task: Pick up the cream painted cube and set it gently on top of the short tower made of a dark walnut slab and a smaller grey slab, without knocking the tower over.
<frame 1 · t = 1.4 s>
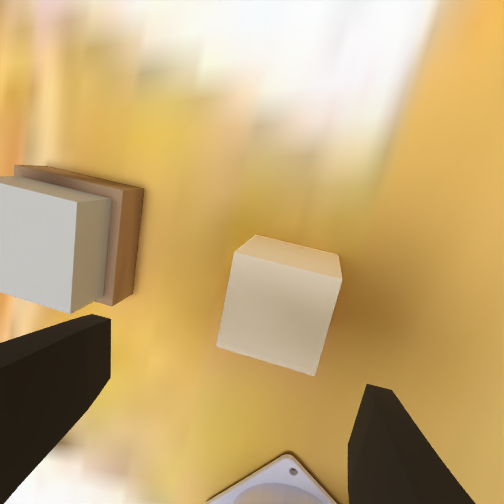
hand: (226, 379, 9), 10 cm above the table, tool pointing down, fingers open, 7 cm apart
grey slab: (62, 237, 18), point 2 cm above the table, touching walnut slab
walnut slab: (94, 229, 21), on the table, touching grey slab
cream cube: (286, 282, 18), on the table
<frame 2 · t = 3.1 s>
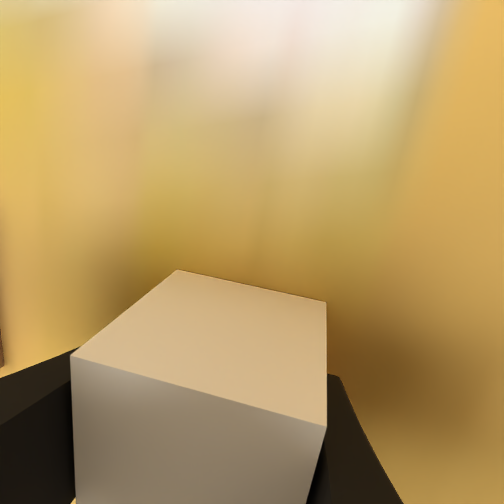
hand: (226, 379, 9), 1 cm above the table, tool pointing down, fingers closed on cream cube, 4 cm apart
cream cube: (239, 350, 10), on the table, touching gripper
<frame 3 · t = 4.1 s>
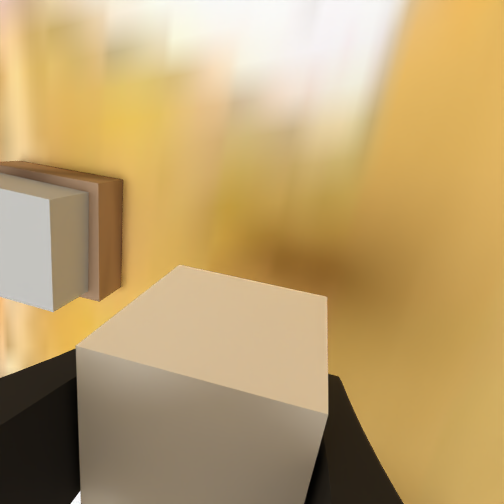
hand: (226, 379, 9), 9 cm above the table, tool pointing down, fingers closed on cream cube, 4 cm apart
grey slab: (42, 232, 18), point 2 cm above the table
walnut slab: (77, 224, 20), on the table
cream cube: (240, 344, 11), point 8 cm above the table, touching gripper
when the fingers open (7 cm above the table, at t = 6.3 s): cream cube drops 1 cm, resting on grey slab.
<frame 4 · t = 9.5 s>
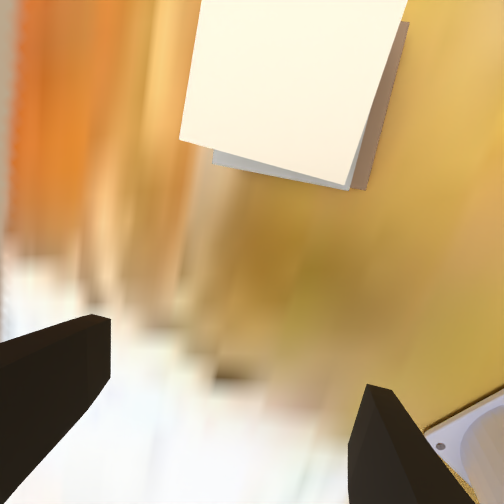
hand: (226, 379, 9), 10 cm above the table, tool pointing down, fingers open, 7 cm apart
grey slab: (298, 109, 14), point 2 cm above the table, touching cream cube, walnut slab
walnut slab: (310, 108, 17), on the table, touching grey slab
cream cube: (298, 95, 12), point 4 cm above the table, touching grey slab
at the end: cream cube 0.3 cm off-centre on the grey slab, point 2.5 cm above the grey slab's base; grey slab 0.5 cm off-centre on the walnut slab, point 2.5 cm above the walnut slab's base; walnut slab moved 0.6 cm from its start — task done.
